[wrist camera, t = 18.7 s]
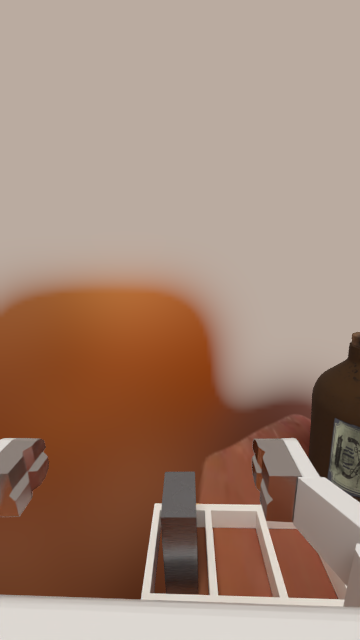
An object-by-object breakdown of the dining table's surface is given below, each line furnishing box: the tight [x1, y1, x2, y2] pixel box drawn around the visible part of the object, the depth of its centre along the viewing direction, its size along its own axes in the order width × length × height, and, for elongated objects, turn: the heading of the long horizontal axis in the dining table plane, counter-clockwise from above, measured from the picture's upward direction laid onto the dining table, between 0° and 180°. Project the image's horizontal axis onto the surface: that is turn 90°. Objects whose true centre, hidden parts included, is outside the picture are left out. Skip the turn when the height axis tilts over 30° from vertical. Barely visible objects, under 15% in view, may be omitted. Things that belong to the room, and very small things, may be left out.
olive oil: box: [309, 332, 360, 502], centre depth 33 cm, size 11×11×25 cm
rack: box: [141, 504, 347, 607], centre depth 27 cm, size 21×10×3 cm, turn 88°
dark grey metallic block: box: [161, 472, 198, 594], centre depth 26 cm, size 4×5×11 cm
